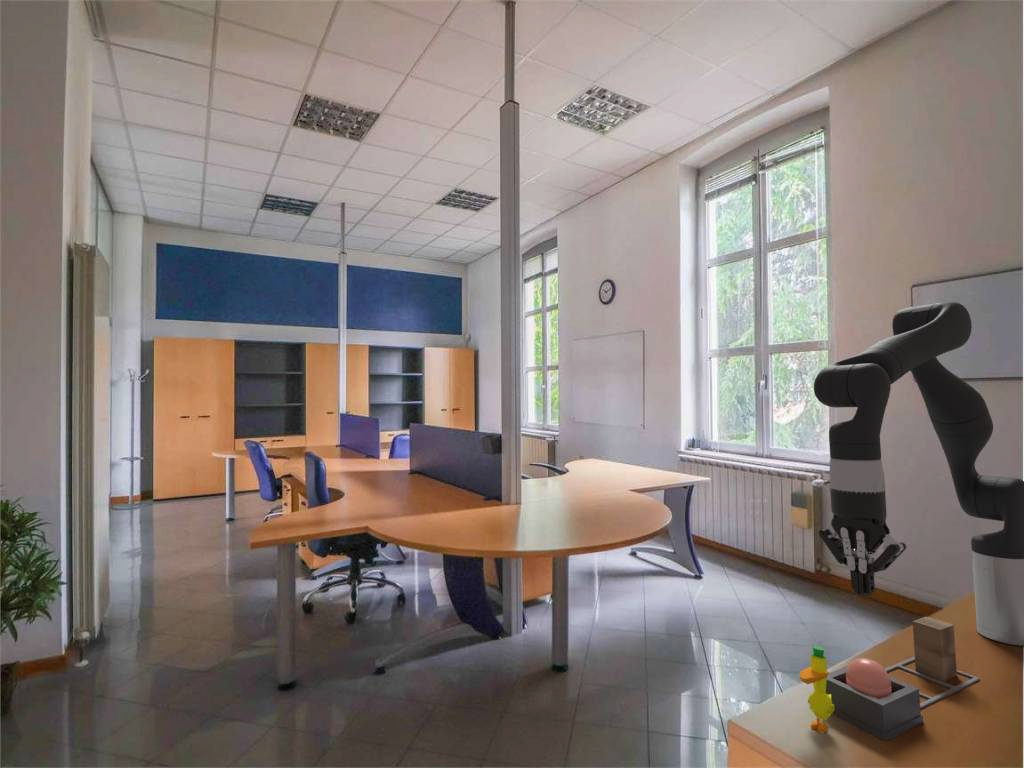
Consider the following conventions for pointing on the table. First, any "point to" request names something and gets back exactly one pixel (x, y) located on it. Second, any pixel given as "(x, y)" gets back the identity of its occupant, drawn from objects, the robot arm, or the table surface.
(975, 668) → the table surface
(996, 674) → the table surface
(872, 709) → the housing
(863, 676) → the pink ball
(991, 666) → the table surface
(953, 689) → the frame
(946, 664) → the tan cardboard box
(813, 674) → the toy figure
